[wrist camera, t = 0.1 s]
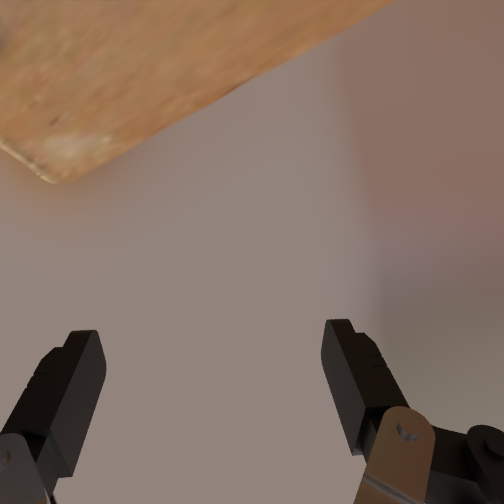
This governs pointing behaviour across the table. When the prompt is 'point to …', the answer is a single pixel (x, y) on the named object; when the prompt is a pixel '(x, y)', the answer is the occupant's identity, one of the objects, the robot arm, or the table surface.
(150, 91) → the table surface
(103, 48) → the table surface
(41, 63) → the table surface
